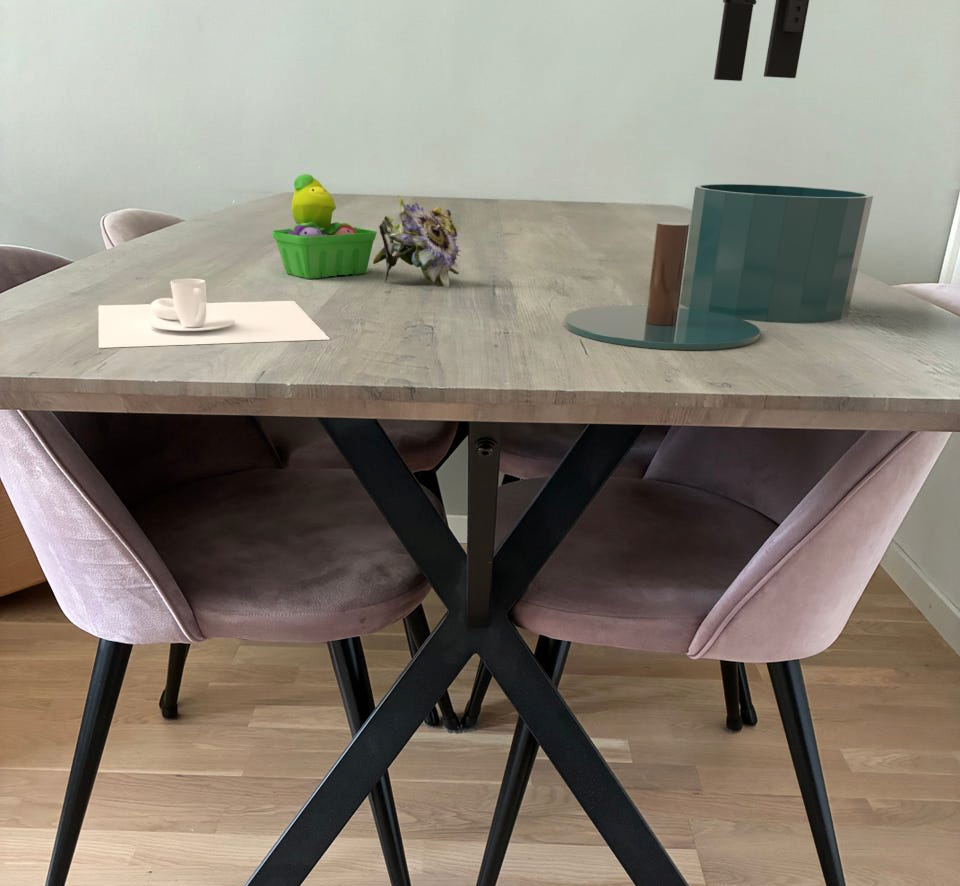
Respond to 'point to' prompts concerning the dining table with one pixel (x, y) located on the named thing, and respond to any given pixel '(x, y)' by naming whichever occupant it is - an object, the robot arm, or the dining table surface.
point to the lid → (663, 309)
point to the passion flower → (421, 242)
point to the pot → (774, 251)
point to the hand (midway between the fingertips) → (751, 79)
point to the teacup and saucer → (202, 321)
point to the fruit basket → (321, 236)
